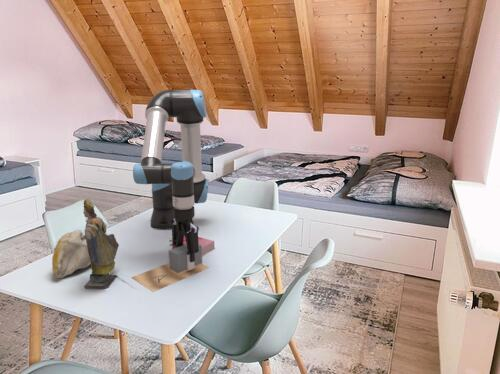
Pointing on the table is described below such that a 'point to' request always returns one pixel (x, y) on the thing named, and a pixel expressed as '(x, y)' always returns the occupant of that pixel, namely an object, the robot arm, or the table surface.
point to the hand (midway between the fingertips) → (186, 266)
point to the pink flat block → (206, 244)
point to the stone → (70, 254)
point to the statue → (99, 249)
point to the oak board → (163, 277)
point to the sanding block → (182, 259)
